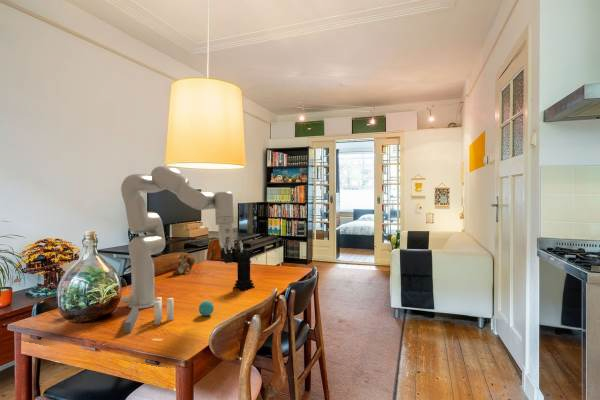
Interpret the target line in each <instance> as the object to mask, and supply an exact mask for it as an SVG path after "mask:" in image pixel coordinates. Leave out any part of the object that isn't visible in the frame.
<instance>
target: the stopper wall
mask: <svg viewBox="0 0 600 400" xmlns="http://www.w3.org/2000/svg"><path fill="white" fill-rule="evenodd" d="M138 318H139V309H138V306H137V307H133V308H131V309H130V312H129V313H128V315H127V318H126V319H125V321H124V322H123V323H124V334H125V333H127V334H131V333H132V331H133V329H134V327H135V324H136V322H137V320H138Z"/></svg>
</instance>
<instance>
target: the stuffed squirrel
mask: <svg viewBox="0 0 600 400" xmlns="http://www.w3.org/2000/svg"><path fill="white" fill-rule="evenodd" d="M195 263H196V258H194V256H190V253H185V252H180V253H179V257H178V262H177V263H176V264H175V266H176V267H177V268H176V270H174V271H173V272H172V275H179V274H180V275H185V276H187V275H189V274H190V273H191V271H192V268H193V266H194V264H195Z"/></svg>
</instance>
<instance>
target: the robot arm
mask: <svg viewBox="0 0 600 400" xmlns="http://www.w3.org/2000/svg"><path fill="white" fill-rule="evenodd" d="M164 190H167V191H169V192H170V193H173V194H175V195H176V197H177V199H178V200H180V202H182V203H184V204H185V205H187V206H188V207H190V208H192V209H194V210H198V211H204V210H206V211H207V210H214V211H215V213H214V214H215V226H218V243H219V246H220V260H224V263H225V264H230V263H231V264H232V263H233V259H234V258H233V249H232V248H234V247H235V237H234V236H235V235H234V226H233V224H235V219H234V217H235V216H234V195H233V193H232V192H231V191H217V192H214V191H213V192H211V191H200V190H198V189H196V188H194V187H192V186H190V180H189V178H187V177H185V176H183V175H182V173H181V171H180V170H178V169H177V168H175V167H171V166H164V165H160V166H156V167H154V168H153V169H152V170H151V171H150V174H146V173H145V174H144V173H143V174H142V173H134V174H133V173H132V174H129V175H128V176H126V177H125V178H124V179H123V181H122V183H121V186H120V191H121V197H122V199H123V203H124V206H125V213H126V219H127V225H128V228H129V231H130V233H133V234H144V233H145V234H146V235H145V234H144V235H140V236H136V237H134V238H133V239H131V241H129V243H128V247H127V248H128V254H129V258H130V267H131V268H130V269H131V270H130V271H131V273H130V274H131V277H130V278H131V295H130V296H127V297H126V296H125V297H124V296H122V297H121V298H120V302H122V303H127V304H128V305H127V307H128V308H129V309H132V308H133V307H137V306H138V310H140V309H148V308H151V307H154V302H155V298H156V297H155V292H156V291H155V262H154V260H153V259H152V255H156V254H160V253H161V252H163V251H164V249H165V248H166V237H165V235H166V234H165V231H164V225H163V220H162V218H161V216H160V215H159V214H158V213H156V212H154V211H148V209H147V206H146V202H145V199H144V197H143V196H142V195H141V193H144V194H148V193H149V194H153V193H154V194H155V193H159V192H163V191H164Z"/></svg>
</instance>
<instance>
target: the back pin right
mask: <svg viewBox="0 0 600 400" xmlns="http://www.w3.org/2000/svg"><path fill="white" fill-rule="evenodd" d="M153 312H154V313H153V315H154V316H153V320H154V321H153V323H154V325H155V326H156V325H161V324H162V319H161V301H155V302H154V306H153Z"/></svg>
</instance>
